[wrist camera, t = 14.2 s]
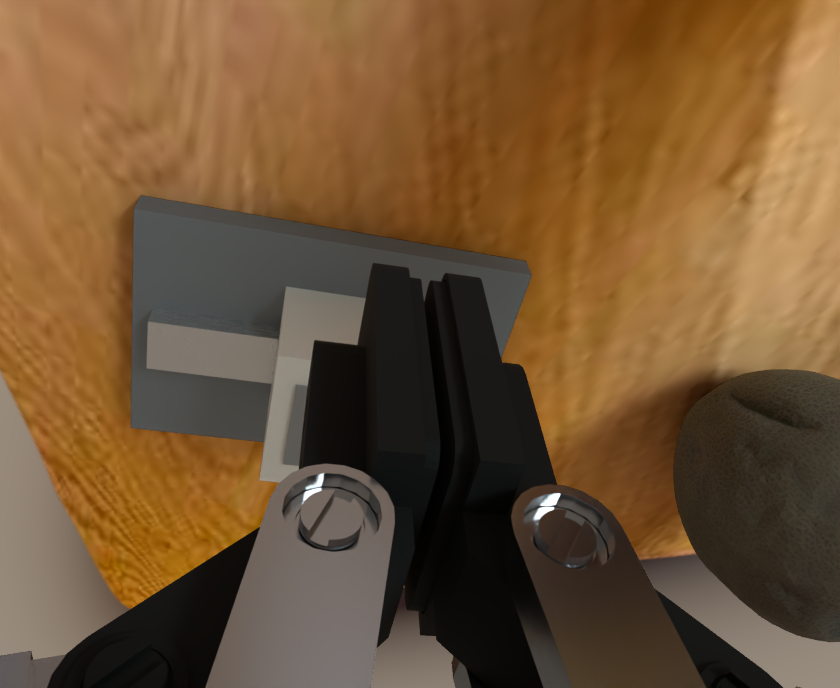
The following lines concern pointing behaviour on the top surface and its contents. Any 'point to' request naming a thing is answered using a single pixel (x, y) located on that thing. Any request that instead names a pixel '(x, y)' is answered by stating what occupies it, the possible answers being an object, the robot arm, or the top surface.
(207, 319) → the steel rail
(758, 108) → the top surface
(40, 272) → the top surface
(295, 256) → the board
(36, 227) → the top surface
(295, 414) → the module
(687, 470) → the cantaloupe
